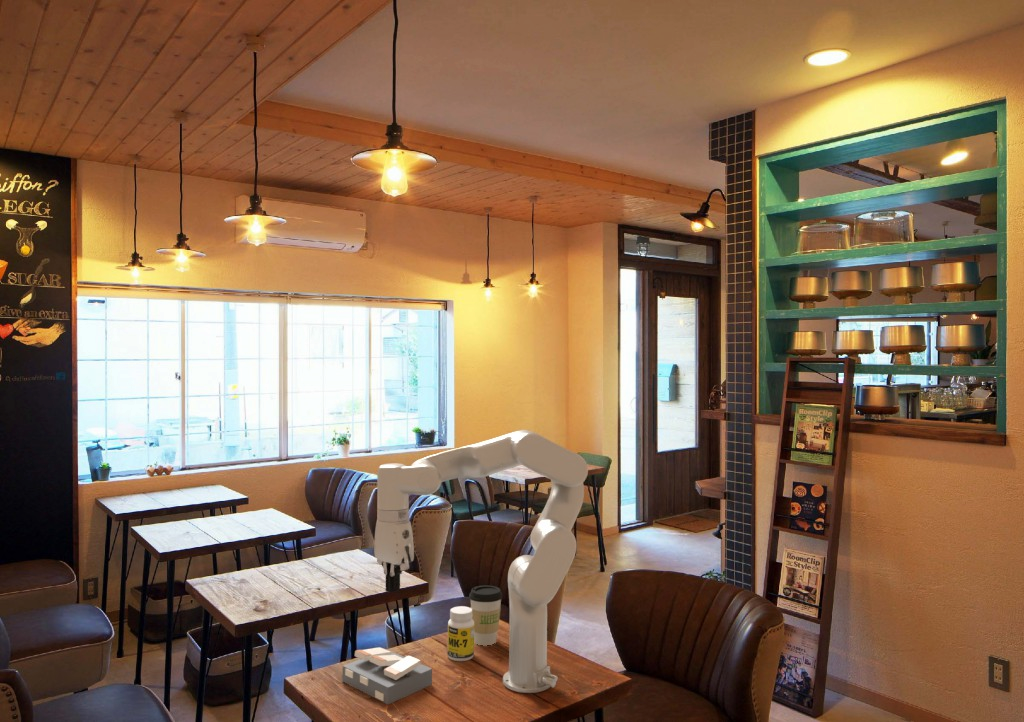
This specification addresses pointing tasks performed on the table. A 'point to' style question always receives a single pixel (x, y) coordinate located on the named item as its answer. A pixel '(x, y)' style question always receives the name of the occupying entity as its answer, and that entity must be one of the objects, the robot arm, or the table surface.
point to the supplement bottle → (460, 634)
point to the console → (385, 680)
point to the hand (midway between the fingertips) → (392, 590)
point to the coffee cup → (485, 613)
